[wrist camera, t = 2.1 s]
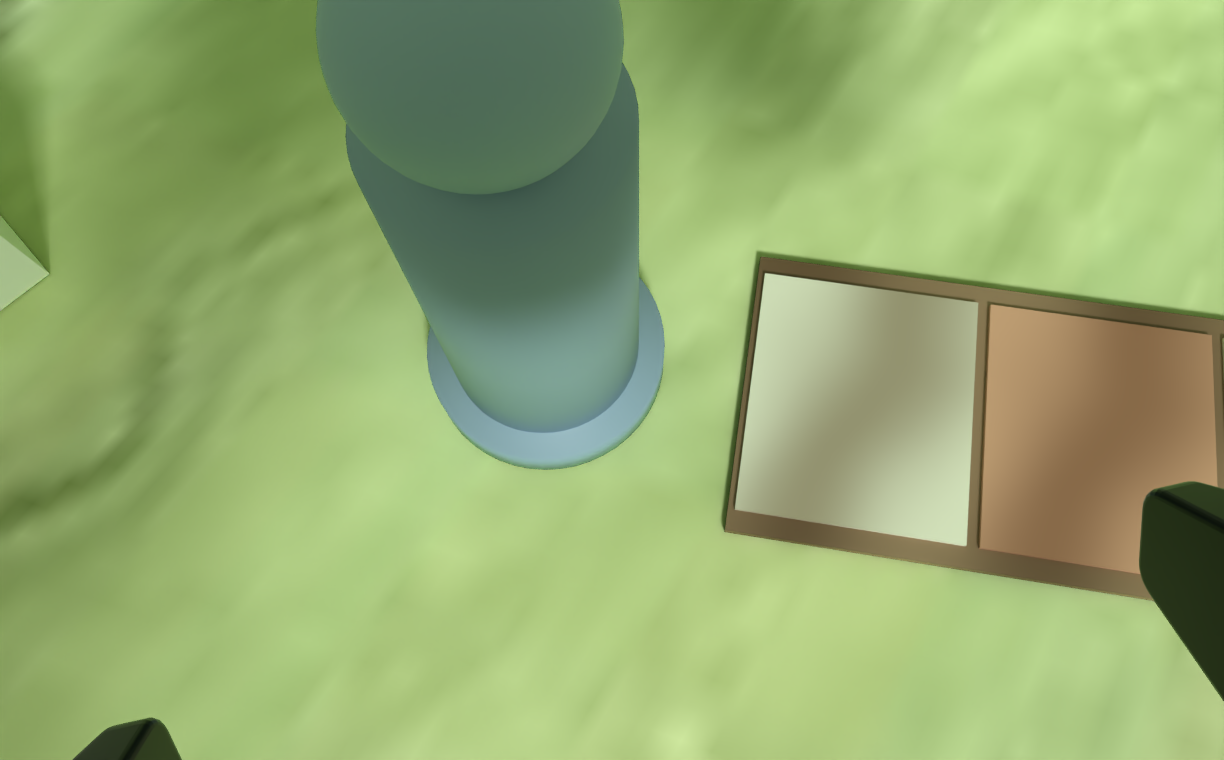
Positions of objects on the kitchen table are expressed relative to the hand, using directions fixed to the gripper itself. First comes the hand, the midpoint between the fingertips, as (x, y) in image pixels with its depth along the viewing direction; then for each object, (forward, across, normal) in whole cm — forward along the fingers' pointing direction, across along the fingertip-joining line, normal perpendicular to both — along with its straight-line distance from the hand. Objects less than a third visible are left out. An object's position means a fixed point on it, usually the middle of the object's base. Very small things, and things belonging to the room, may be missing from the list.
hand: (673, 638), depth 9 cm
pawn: (+15, +1, +4) cm, 16 cm away
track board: (+12, -12, +7) cm, 18 cm away
